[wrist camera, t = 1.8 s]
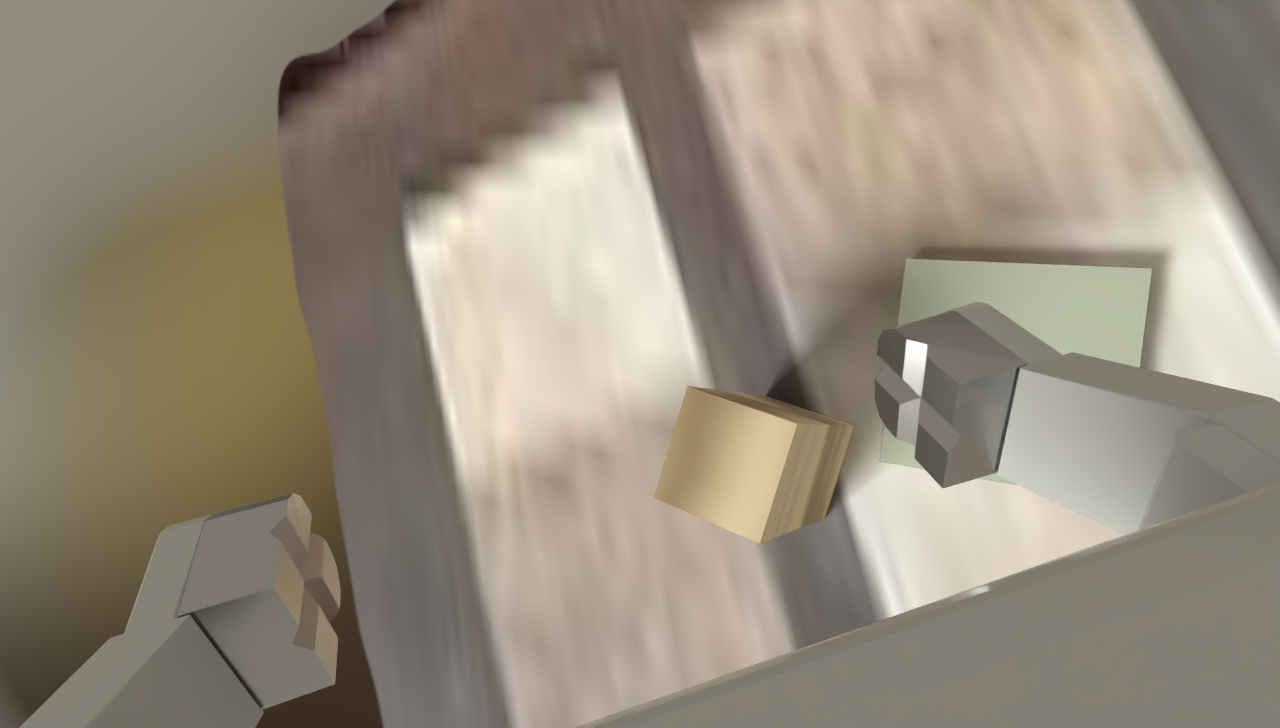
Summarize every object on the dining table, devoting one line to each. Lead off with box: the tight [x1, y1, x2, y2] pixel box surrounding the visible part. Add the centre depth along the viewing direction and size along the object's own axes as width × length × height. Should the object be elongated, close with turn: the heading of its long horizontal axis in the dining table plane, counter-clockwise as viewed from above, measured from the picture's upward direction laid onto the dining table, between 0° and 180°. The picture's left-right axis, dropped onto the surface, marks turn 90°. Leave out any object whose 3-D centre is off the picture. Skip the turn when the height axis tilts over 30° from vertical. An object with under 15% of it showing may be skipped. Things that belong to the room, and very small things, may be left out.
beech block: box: [654, 386, 855, 544], centre depth 35 cm, size 5×5×10 cm
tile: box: [879, 259, 1152, 485], centre depth 34 cm, size 10×10×1 cm
